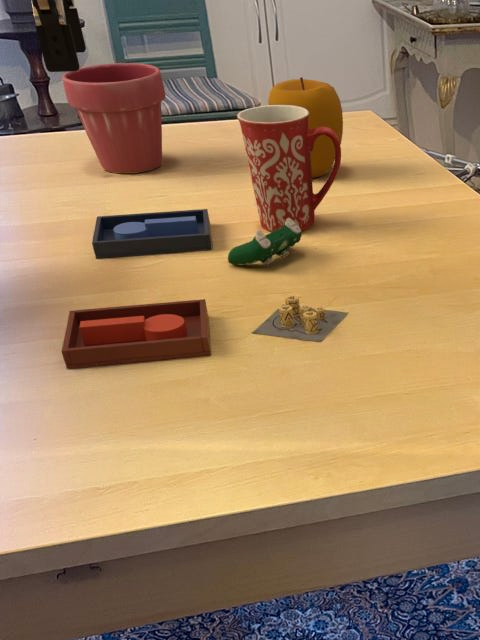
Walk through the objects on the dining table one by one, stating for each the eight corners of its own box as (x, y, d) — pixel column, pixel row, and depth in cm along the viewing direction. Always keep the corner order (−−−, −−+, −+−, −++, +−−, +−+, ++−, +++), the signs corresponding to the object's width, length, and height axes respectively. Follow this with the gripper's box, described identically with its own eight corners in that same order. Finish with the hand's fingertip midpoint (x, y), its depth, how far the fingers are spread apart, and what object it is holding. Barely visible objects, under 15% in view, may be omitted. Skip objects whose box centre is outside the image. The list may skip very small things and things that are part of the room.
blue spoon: (198, 228, 124) (195, 212, 123) (199, 239, 121) (195, 223, 120) (116, 234, 122) (112, 218, 121) (115, 245, 119) (111, 229, 118)
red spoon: (83, 351, 96) (78, 332, 95) (86, 333, 100) (81, 315, 98) (187, 341, 98) (183, 323, 97) (186, 324, 101) (183, 306, 100)
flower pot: (73, 161, 148) (49, 68, 139) (160, 148, 154) (142, 57, 145) (100, 184, 139) (76, 86, 130) (191, 170, 145) (174, 75, 136)
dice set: (315, 335, 101) (313, 317, 99) (271, 329, 102) (269, 311, 100) (333, 316, 104) (331, 299, 103) (291, 311, 105) (289, 294, 104)
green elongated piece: (242, 284, 116) (264, 256, 111) (222, 257, 115) (243, 228, 110) (291, 261, 121) (313, 233, 117) (272, 235, 121) (294, 207, 116)
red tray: (66, 369, 94) (61, 351, 93) (74, 327, 102) (69, 310, 100) (210, 355, 97) (207, 337, 96) (208, 315, 104) (205, 298, 103)
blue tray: (95, 258, 117) (91, 243, 116) (100, 231, 124) (96, 216, 123) (212, 249, 119) (209, 234, 118) (209, 223, 127) (207, 208, 125)
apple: (362, 173, 144) (355, 77, 135) (306, 188, 138) (296, 89, 130) (316, 159, 150) (307, 66, 141) (261, 173, 144) (248, 77, 135)
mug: (246, 235, 123) (229, 121, 114) (260, 212, 130) (245, 103, 121) (342, 237, 123) (332, 123, 114) (351, 214, 130) (342, 105, 121)
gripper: (-14, -154, 93) (38, 46, 105) (-42, -146, 81) (20, 80, 92) (65, -153, 95) (108, 44, 106) (49, -146, 82) (100, 77, 94)
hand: (67, 61), depth 99 cm, fingers open, 9 cm apart
